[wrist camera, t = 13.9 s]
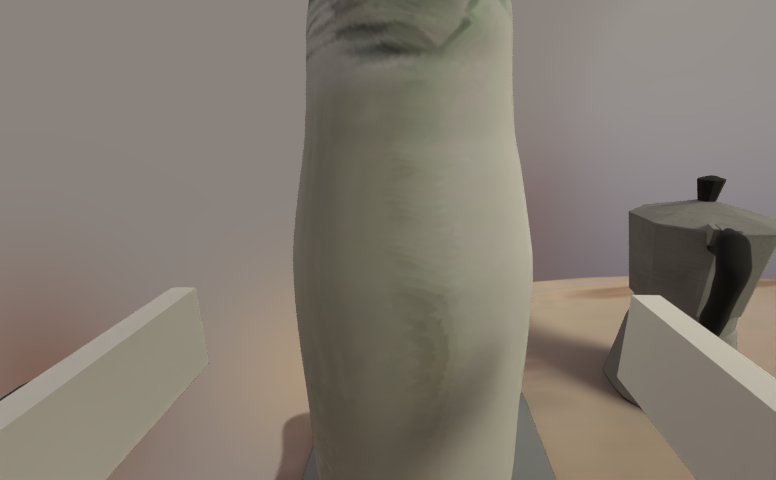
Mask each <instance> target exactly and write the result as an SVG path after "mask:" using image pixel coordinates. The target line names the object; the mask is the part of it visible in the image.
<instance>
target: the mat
mask: <svg viewBox="0 0 776 480" xmlns="http://www.w3.org/2000/svg"><path fill="white" fill-rule="evenodd" d="M302 480H319V476H318V471H317V465H316V458H315V450H314V445H313V448H312V451H311V454H310V457H309V460H308V464H307V467H306V470H305V473H304V476H303V479H302ZM511 480H556V477H555V475H554V472H553V470H552V467H551V464H550V462H549V459H548V457H547V454H546V452H545V449H544V447H543V444H542V441H541V439H540V436H539V434H538V431H537V429H536V426H535V423H534V421H533V418H532V416H531V413H530V411H529V408H528V406H527V403H526V400H525V398H524V395H523V393H520V401H519V410H518V420H517V432H516V443H515V454H514V464H513V471H512V477H511Z"/></svg>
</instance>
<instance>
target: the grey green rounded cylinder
mask: <svg viewBox="0 0 776 480" xmlns="http://www.w3.org/2000/svg"><path fill="white" fill-rule="evenodd" d="M512 52H513V20H512V8H511V0H309V4H308V11H307V24H306V116H305V141H304V150H303V159H302V168H301V174H300V183H299V191H298V200H297V209H296V218H295V230H294V245H293V272H294V288H295V303H296V313H297V321H298V330H299V338H300V347H301V353H302V360H303V367H304V374H305V380H306V387H307V394H308V401H309V408H310V417H311V425H312V434H313V443H314V450H315V458H316V465H317V471H318V476H319V480H511V477H512V471H513V464H514V454H515V443H516V432H517V420H518V410H519V401H520V393H521V386H522V379H523V372H524V365H525V358H526V351H527V340H528V331H529V323H530V314H531V302H532V282H533V279H532V278H533V264H532V263H533V259H532V246H531V237H530V229H529V221H528V215H527V207H526V201H525V193H524V186H523V179H522V172H521V166H520V161H519V155H518V150H517V144H516V139H515V130H514V109H513V89H512Z"/></svg>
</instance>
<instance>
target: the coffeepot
mask: <svg viewBox="0 0 776 480" xmlns="http://www.w3.org/2000/svg"><path fill="white" fill-rule="evenodd" d="M725 182H726V179H723V178H720V177H717V176H705V177H700V178H698V179H697V191H698V199H697V200H687V201H677V202H666V203H655V204H645V205H642V206H640V207H638V208H636V209H634V210H631V211H629V287H630V289H631V290H632V291H633V292H634V295H660V296H662V297H663V298H664V299H666V300H667V301H669V302H670V303H671V304H673V305H674V306H676V307H677V308H678V309H680V310H681V311H682V312H684V313H685V314H687V315H688V316H689V317H691V318H692V319H694V320H695V321H696V322H698V323H699V324H701V325H702V326H703V327H705V328H706V329H708V330H709V331H710V332H712V333H713V334H714V335H716V336H717V337H719V338H720V339H721V340H723V341H724V342H726V343H727V344H728V345H730V346H731V347H733V348H734V349H735V350H737V331H736V330H735V327H736V324H737V320H738V317H740V316H741V315H742V313H743V312H744V310H745V308H746V306H747V304H748V302H749V300H750V298H751V296H752V294H753V292H754V290H755V288H756V286H757V284H758V282H759V280H760V278H761V276H762V275H763V273H764V271H765V269H766V267H767V264H768V263H769V261H770V259H771V257H772V255H773V253H774V251H775V249H776V219H774V218H771V217H768V216H764V215H761V214H757V213H754V212H751V211H747V210H744V209H740V208H737V207H734V206H731V205H727V204H724V203H720V202H717V201H716V200H717V198H718V196H719V194H720V192H721V190H722V188H723V186H724V184H725ZM628 313H629V310H628V311H627V313H626V315H625V317H624V320H623V322H622V324H621V327H620V329H619V332H618V334H617V337H616V339H615V341H614V344H613V346H612V349H611V351H610V354H609V356H608V358H607V361H606V363H605V366H604V368H603V370H604V372H605V374H606V376H607V377H608V379H609V381H610V383H611V384H612V386H613V387H614V388H615V389H616V390H617V391H618V392H619V393H620V394H621V395H622V396H623V397H625V398H626V399H627V400H629V401H630V402H632V403H633V404H635V405H637V406H639V405H638V403H637V402H636V401H635V399H634V398H633V397H632V395H631V394H630V393H629V392H628V390H627V389H626V388H625V386H624V385H623V384H622V383H621V381H620V380H619V379H618V377H617V374H618V368H619V363H620V357H621V352H622V346H623V341H624V335H625V330H626V324H627V319H628ZM639 407H640V406H639Z"/></svg>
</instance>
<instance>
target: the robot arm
mask: <svg viewBox="0 0 776 480" xmlns="http://www.w3.org/2000/svg"><path fill="white" fill-rule="evenodd" d="M208 364H209V359H208V354H207V348H206V343H205V337H204V331H203V326H202V320H201V315H200V309H199V304H198V298H197V293H196V288H187V287H186V288H185V287H172V288H171V289H169V290H168V291H166V292H165V293H163V294H162V295H160V296H159V297H157V298H156V299H154V300H153V301H151V302H150V303H148V304H147V305H145V306H144V307H142V308H141V309H139V310H138V311H136V312H135V313H133V314H131V315H130V316H128V317H127V318H126V319H124V320H122V321H121V322H119V323H118V324H116V325H115V326H113V327H112V328H110V329H109V330H107V331H106V332H104V333H103V334H101V335H100V336H98V337H97V338H95V339H94V340H92V341H91V342H89V343H88V344H86V345H85V346H83V347H81V348H80V349H78V350H77V351H75V352H74V353H73V354H71V355H69V356H68V357H66V358H65V359H63V360H62V361H60V362H59V363H57V364H56V365H54V366H53V367H51V368H50V369H48V370H47V371H45V372H44V373H42V374H41V375H39V376H38V377H36V378H35V379H33V380H31V381H29V382H27V383H25V384H23V385H21V386H19V387H18V388H16V389H15V390H13V391H12V392H10V393H9V394H7V395H6V396H4V397H3V398H1V399H0V480H106V479H107V478H108V477H109V476H110V475H111V474H112V472H113V471H114V470H115V469H116V468H117V467H118V466H119V465H120V463H121V462H122V461H123V460H124V459H125V458H126V457H127V455H128V454H129V453H130V452H131V451H132V449H134V448H135V446H136V445H137V444H138V443H139V442H140V441H141V440H142V438H143V437H144V436H145V435H146V434H147V433H148V432H149V431H150V429H151V428H152V427H153V426H154V425H155V424H156V423H157V422H158V420H159V419H160V418H161V417H162V416H163V415H164V414H165V412H166V411H167V410H168V409H169V408H170V407H171V406H172V405H173V403H174V402H175V401H176V400H177V399H178V398H179V397H180V395H181V394H182V393H183V392H184V391H185V390H186V389H187V388H188V386H189V385H190V384H191V383H192V382H193V381H194V380H195V378H196V377H197V376H198V375H199V374H200V373H201V372H202V371H203V369H204V368H205V367H206V366H207V365H208ZM617 377H618V379H619V380H620V381H621V383H622V384H623V385H624V386H625V388H626V389H627V390H628V392H629V393H630V394H631V395H632V397H633V398H634V399H635V401H636V402H637V403H638V405H639V406H640V407H641V408H642V410H643V411H644V412H645V414H646V415H647V416H648V417H649V419H650V420H651V421H652V423H653V424H654V425H655V427H656V428H657V429H658V430H659V432H660V433H661V434H662V436H663V437H664V438H665V439H666V441H667V442H668V443H669V445H670V446H671V447H672V448H673V450H674V451H675V452H676V454H677V455H678V456H679V458H680V459H681V460H682V461H683V463H684V464H685V465H686V467H687V468H688V469H689V470H690V472H691V473H692V474H693V476H694V477H695V478H696V479H697V480H776V378H774V377H773V376H771V375H770V374H769V373H767V372H766V371H765V370H763V369H762V368H760V367H759V366H758V365H756V364H755V363H753V362H752V361H751V360H749V359H748V358H746V357H745V356H744V355H742V354H741V353H739V352H738V351H737V350H735V349H734V348H733V347H731V346H730V345H728V344H727V343H726V342H724V341H723V340H721V339H720V338H719V337H717V336H716V335H714V334H713V333H712V332H710V331H709V330H708V329H706V328H705V327H703V326H702V325H701V324H699V323H698V322H696V321H695V320H694V319H692V318H691V317H689V316H688V315H687V314H685V313H684V312H682V311H681V310H680V309H678V308H677V307H676V306H674V305H673V304H671V303H670V302H669V301H667V300H666V299H664V298H663V297H662V296H660V295H632V296H631V302H630V307H629V313H628V319H627V324H626V330H625V335H624V341H623V346H622V352H621V357H620V363H619V368H618V374H617Z"/></svg>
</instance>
